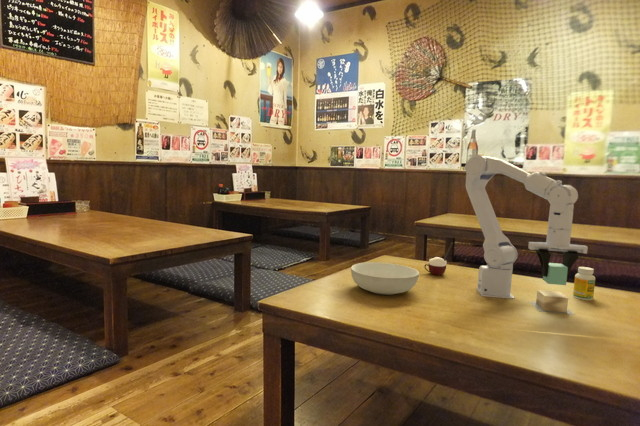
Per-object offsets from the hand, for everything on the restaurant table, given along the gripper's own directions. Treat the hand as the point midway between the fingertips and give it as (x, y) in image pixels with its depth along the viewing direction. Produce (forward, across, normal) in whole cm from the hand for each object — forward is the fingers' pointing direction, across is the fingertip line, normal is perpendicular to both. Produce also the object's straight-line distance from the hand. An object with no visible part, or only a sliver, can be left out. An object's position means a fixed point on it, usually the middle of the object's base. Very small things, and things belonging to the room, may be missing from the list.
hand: (554, 276), depth 117 cm
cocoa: (+10, -28, +31) cm, 43 cm away
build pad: (+9, 0, 0) cm, 9 cm away
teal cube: (+2, 0, 0) cm, 2 cm away
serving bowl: (+10, -47, +4) cm, 48 cm away
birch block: (+9, 0, 0) cm, 9 cm away
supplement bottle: (+10, +14, +14) cm, 22 cm away
